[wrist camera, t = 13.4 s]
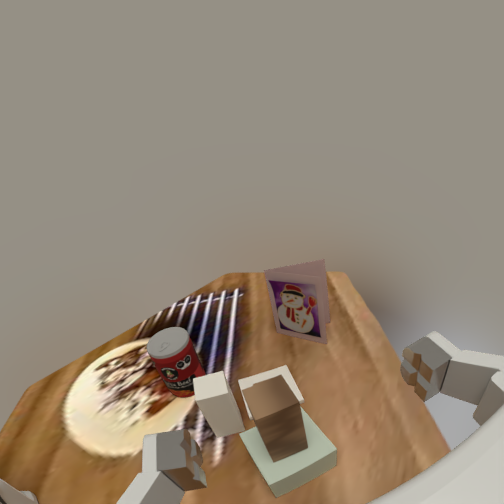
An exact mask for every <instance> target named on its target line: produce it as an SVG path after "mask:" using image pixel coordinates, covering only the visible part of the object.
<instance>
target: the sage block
mask: <svg viewBox="0 0 504 504" xmlns="http://www.w3.org/2000/svg"><path fill="white" fill-rule="evenodd" d="M300 407H301V406H300ZM301 412H302V417H303V423H304V428H305V433H306V438H307V443H308V448H307V449H305V450H302V451H300V452H298V453H296V454H293V455H291V456H289V457H286V458H284V459H282V460H279V461H277V462H274V463H273V461H272V459H271V457H270V455H269V453H268V451H267V449H266V447H265V445H264V442H263V440H262V438H261V436H260V434H259V431H258V429H257V427H254V428H252V429H249V430H247V431H245V432H243V433H240V434H239V435H240V437H241V439H242V440H243V442H244V444H245V446H246V448H247V450H248V452H249V454H250V455H251V457H252V459H253V461H254V462H255V464H256V466H257V467H258V469H259V471H260V473H261V474H262V476H263V477H264V479H265V481H266V482H267V484H268V486H269V487H270V489H271V490H272V492H273V494H274V495H275V497H276V498H277V497H279V496H281V495H283V494H285V493H288V492H290V491H292V490H294V489H296V488H298V487H300V486H301V485H303V484H305V483H307V482H309V481H311V480H313V479H314V478H316V477H318V476H320V475H322V474H323V473H325V472H327V471H328V470H330V469H332V468H333V467H335V466H336V460H337V448H336V447H335V446H334V445H333V444H332V443H331V441H330V440H329V439H328V438H327V437H326V436H325V435H324V433H323V432H322V431H321V430H320V429H319V428H318V426H317V425H316V424H315V423H314V422H313V421H312V419H311V418H310V417H309V416H308V415H307V413H306V412H305V411H304V410H303V409H302V407H301Z"/></svg>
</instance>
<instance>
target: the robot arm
mask: <svg viewBox="0 0 504 504" xmlns="http://www.w3.org/2000/svg"><path fill="white" fill-rule="evenodd" d="M402 356H403V357H404V358H405V359H404V360H403V362H402V363H401V369H400V371H401V375H402V377H403V379H404V381H405V382H406V383H407V384H408V385H411V386H414V392H415V393H416V394H417V395H418V396H419V397H420V398H421V399H422V400H423V402H425V401H426V400H428V399H430V398H431V397H433V396H434V395H436V394H437V393H439V392H440V391H441V392H440V393H443V394H445V395H448V396H451V397H454V398H457V399H460V400H463V401H466V402H469V403H472V404H475V405H478V406H477V408H476V410H475V412H474V414H473V418H474V419H475V420H476V421H477V422H478V424H479V425H480V427H479V428H478V429H477V430H476V431H475V432H474V433H473V434H471V435H470V436H469V437H468V438H467V439H466V440H464V441H463V442H462V443H461V444H459V445H458V446H457V447H456V448H454V449H453V450H452V451H451V452H449V453H448V454H447V455H445V456H444V457H443V458H441V459H440V460H438V461H437V462H436V463H434V464H433V465H431V466H430V467H428V468H427V469H426V470H424V471H422V472H421V473H419V474H418V475H416V476H415V477H413V478H412V479H410V480H408V481H407V482H405V483H403V484H402V485H400V486H398V487H397V488H395V489H393V490H391V491H389V492H388V493H386V494H384V495H382V496H380V497H378V498H376V499H374V500H372V501H370V502H368V503H366V504H504V356H499V355H493V354H486V353H480V352H474V351H469V350H463V351H461V350H459V349H458V348H457V347H456V346H454V345H453V344H452V343H451V342H449V341H448V340H447V339H445V338H444V337H443V336H442V335H440V334H439V333H438V332H435V331H433V332H432V333H430V334H428V335H427V336H425V337H423V338H421V339H419V340H418V341H416V342H415V343H413V344H411V345H409V346H408V347H406V348H405V349H404V350H403V354H402ZM202 464H203V458H202V454H201V451H200V448H199V446H198V444H197V443H196V441H195V440H193V439H191V438H190V433H189V432H188V430H187V429H182V430H176V431H170V432H163V433H156V434H149V435H145V436H144V438H143V455H142V473H138V475H137V476H136V477H135V479H134V480H133V481H132V483H131V484H130V486H129V487H128V488H127V490H126V491H125V492H124V494H123V495H122V497H121V498H120V499H119V501H118V502H117V503H116V504H180V502H181V500H182V498H183V496H184V493H185V492H184V491H189V490H196V489H201V488H206V487H207V484H206V478H205V472H204V471H203V470H202V469H201V468H200V467H201V465H202ZM0 504H38V501H37V498H36V496H35V495H34V494H33V493H32V492H30V491H18V490H17V489H15V488H14V487H12V486H11V485H9V484H8V483H6V482H5V481H3V480H2V479H0Z"/></svg>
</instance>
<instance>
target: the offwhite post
mask: <svg viewBox="0 0 504 504" xmlns="http://www.w3.org/2000/svg"><path fill="white" fill-rule="evenodd" d="M193 383H194V392H195V400H196V403H197V404H198V406H199V408H200V410H201V411H202V413H203V415H204V417H205V418H206V420H207V422H208V423H209V425H210V427H211V428H212V430H213V432H214V433H215V435H216V436H217V438H218V437H223V436H227V435H231V434H235V433H238V432H242V431H245V428H244V425H243V421H242V418H241V414H240V411H239V408H238V406H237V403H236V401H235V399H234V396H233V394H232V392H231V389H230V387H229V384H228V382H227V379H226V377H225V375H224V372H223V371H220V372H216V373H213V374H209V375H205V376H201V377H197V378H193Z"/></svg>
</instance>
